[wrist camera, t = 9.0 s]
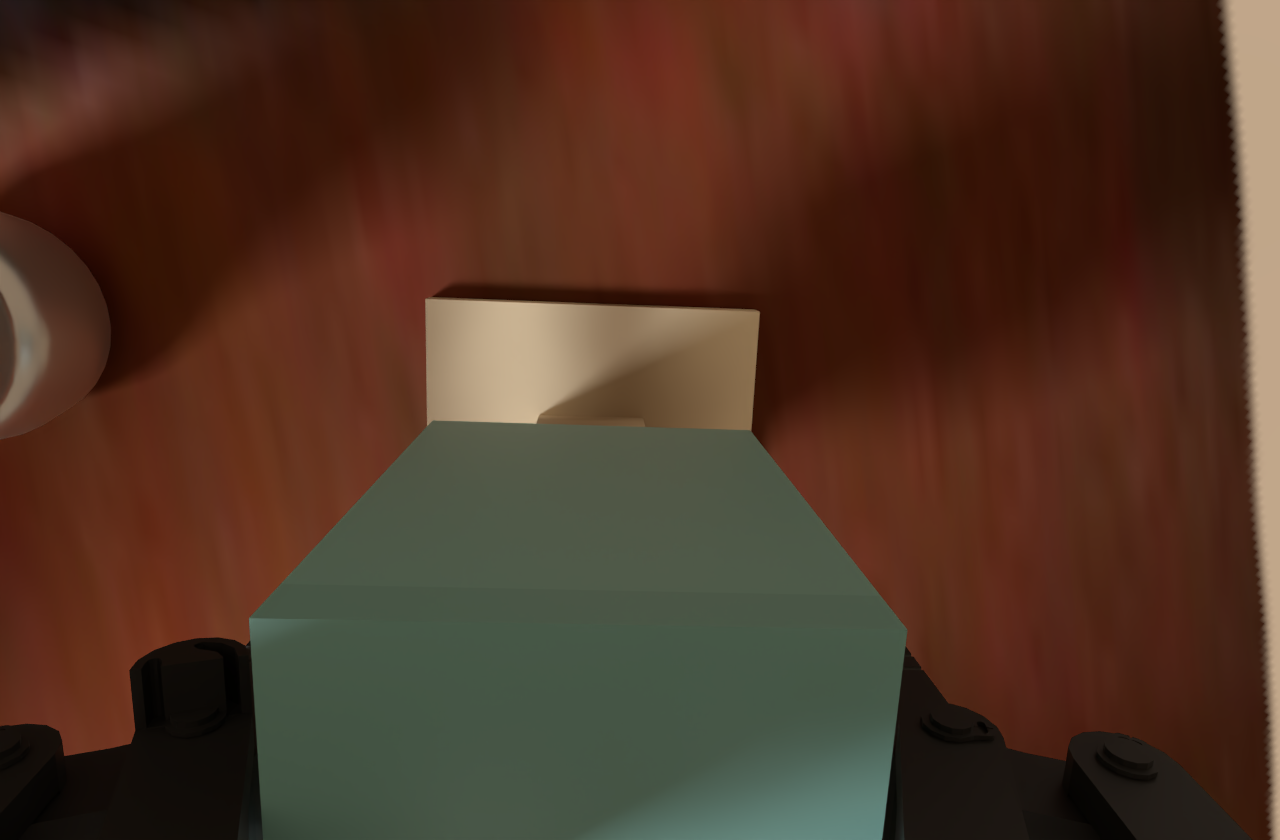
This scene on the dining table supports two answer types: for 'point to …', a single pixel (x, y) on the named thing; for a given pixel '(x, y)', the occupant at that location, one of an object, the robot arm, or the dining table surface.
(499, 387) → the beige t-shaped piece
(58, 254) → the plastic bottle
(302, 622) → the matte teal cube
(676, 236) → the dining table surface
